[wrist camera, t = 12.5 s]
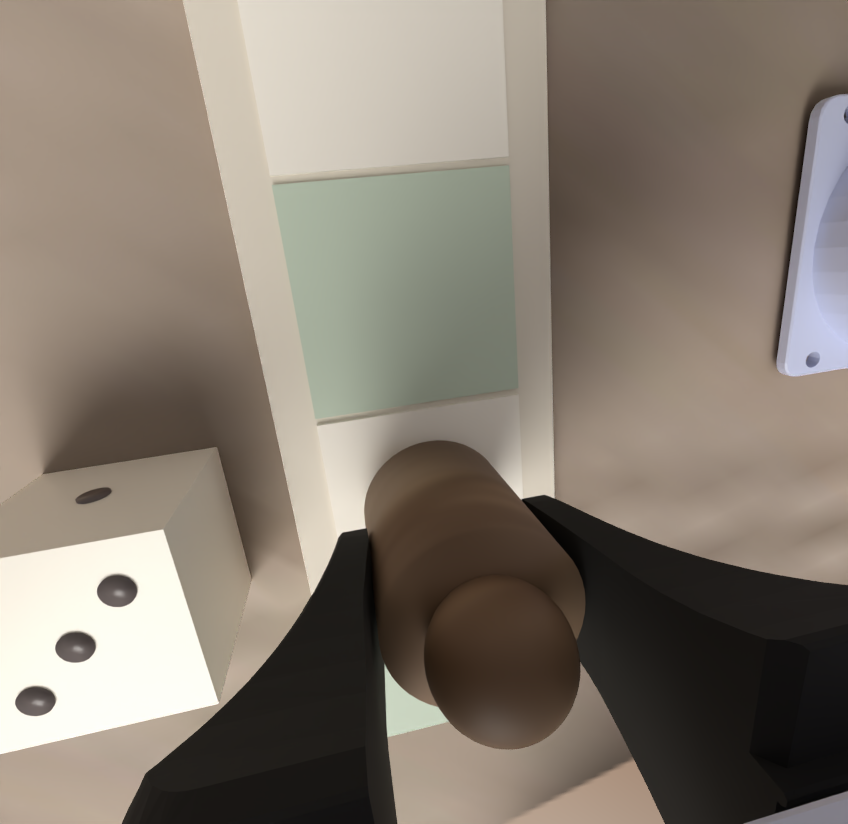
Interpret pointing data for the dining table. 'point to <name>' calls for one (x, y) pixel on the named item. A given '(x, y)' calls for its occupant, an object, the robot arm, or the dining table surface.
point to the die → (117, 596)
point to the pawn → (472, 596)
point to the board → (388, 239)
